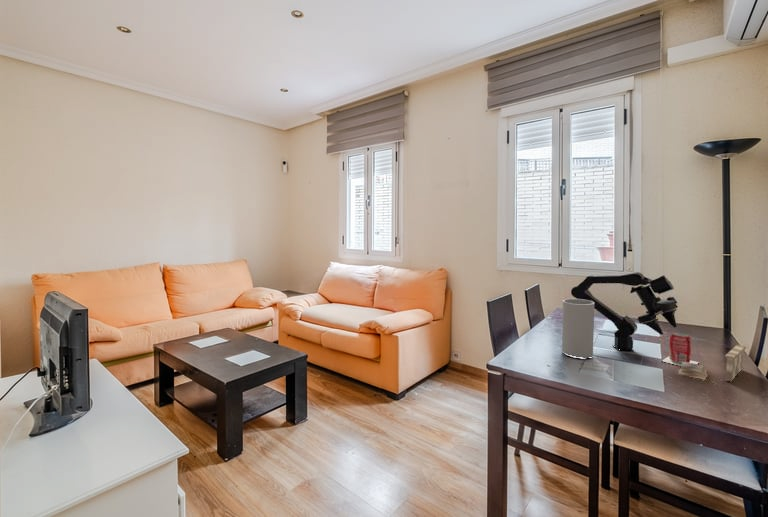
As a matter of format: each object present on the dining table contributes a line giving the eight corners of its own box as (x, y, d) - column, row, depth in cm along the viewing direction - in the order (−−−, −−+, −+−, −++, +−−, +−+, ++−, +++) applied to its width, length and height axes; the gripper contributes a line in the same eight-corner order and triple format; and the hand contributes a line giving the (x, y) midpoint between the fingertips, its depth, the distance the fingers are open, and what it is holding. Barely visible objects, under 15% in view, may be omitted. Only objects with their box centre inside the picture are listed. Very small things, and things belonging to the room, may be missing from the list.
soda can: (680, 358, 153) (681, 331, 152) (694, 364, 146) (696, 336, 145) (664, 358, 153) (665, 331, 152) (678, 365, 146) (679, 337, 145)
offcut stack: (678, 375, 138) (678, 364, 138) (680, 371, 142) (680, 360, 141) (705, 381, 132) (706, 369, 132) (707, 377, 136) (707, 366, 135)
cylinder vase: (584, 350, 167) (586, 298, 165) (598, 360, 154) (599, 304, 152) (557, 350, 168) (558, 298, 166) (568, 360, 156) (569, 304, 153)
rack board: (732, 383, 130) (734, 356, 129) (723, 380, 132) (725, 355, 131) (743, 370, 140) (745, 346, 139) (735, 368, 142) (737, 344, 141)
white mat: (661, 361, 151) (661, 360, 151) (669, 356, 157) (669, 355, 157) (691, 369, 143) (691, 368, 143) (698, 363, 149) (698, 362, 148)
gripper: (650, 299, 148) (672, 334, 144) (678, 286, 154) (700, 319, 150) (628, 306, 158) (648, 339, 154) (655, 293, 164) (675, 324, 160)
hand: (668, 330), depth 154 cm, fingers open, 9 cm apart
